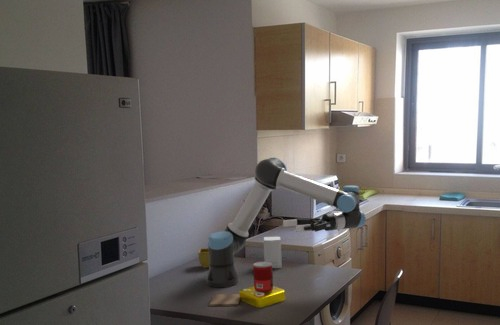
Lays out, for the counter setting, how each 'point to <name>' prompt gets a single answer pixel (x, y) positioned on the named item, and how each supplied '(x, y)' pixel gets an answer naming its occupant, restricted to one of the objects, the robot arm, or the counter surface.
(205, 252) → the flower pot
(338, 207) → the robot arm
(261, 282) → the canned food
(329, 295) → the counter surface
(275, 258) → the supplement box
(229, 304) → the walnut trivet
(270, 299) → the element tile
